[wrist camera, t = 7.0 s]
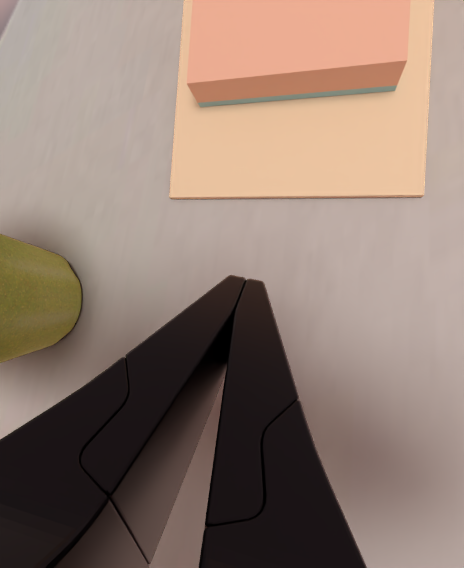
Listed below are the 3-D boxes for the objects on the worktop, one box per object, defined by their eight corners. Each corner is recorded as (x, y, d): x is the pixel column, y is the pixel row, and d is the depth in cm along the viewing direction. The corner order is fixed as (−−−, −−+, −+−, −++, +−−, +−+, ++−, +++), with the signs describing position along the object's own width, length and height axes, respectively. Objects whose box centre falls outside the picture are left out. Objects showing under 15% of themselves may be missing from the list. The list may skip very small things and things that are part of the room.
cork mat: (421, 196, 15) (423, 195, 15) (171, 198, 18) (169, 197, 18) (438, -125, 15) (441, -133, 15) (191, -68, 19) (189, -74, 18)
